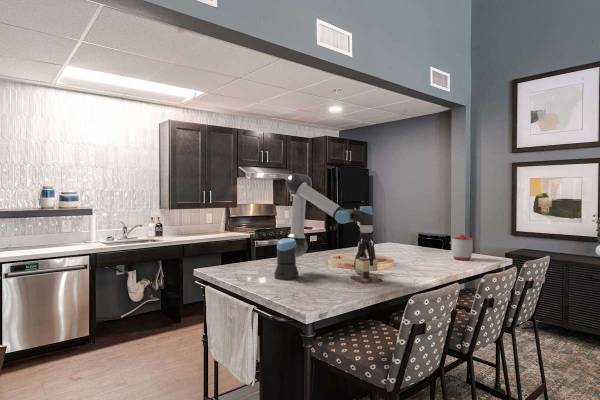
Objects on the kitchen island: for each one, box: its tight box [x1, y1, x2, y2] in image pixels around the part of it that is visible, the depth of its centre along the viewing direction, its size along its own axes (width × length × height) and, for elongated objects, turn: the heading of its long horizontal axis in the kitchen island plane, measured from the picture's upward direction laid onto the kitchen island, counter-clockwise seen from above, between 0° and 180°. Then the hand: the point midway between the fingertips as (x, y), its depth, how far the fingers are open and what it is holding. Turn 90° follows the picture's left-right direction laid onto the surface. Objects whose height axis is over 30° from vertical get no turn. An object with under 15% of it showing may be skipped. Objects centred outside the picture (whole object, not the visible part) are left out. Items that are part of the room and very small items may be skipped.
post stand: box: [350, 271, 384, 285], centre depth 219 cm, size 14×14×8 cm
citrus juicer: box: [449, 234, 474, 261], centre depth 290 cm, size 16×17×20 cm
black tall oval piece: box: [352, 251, 368, 275], centre depth 237 cm, size 10×10×15 cm
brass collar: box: [354, 257, 378, 272], centre depth 219 cm, size 10×10×6 cm
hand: (366, 269), depth 219 cm, fingers closed on brass collar, 9 cm apart
